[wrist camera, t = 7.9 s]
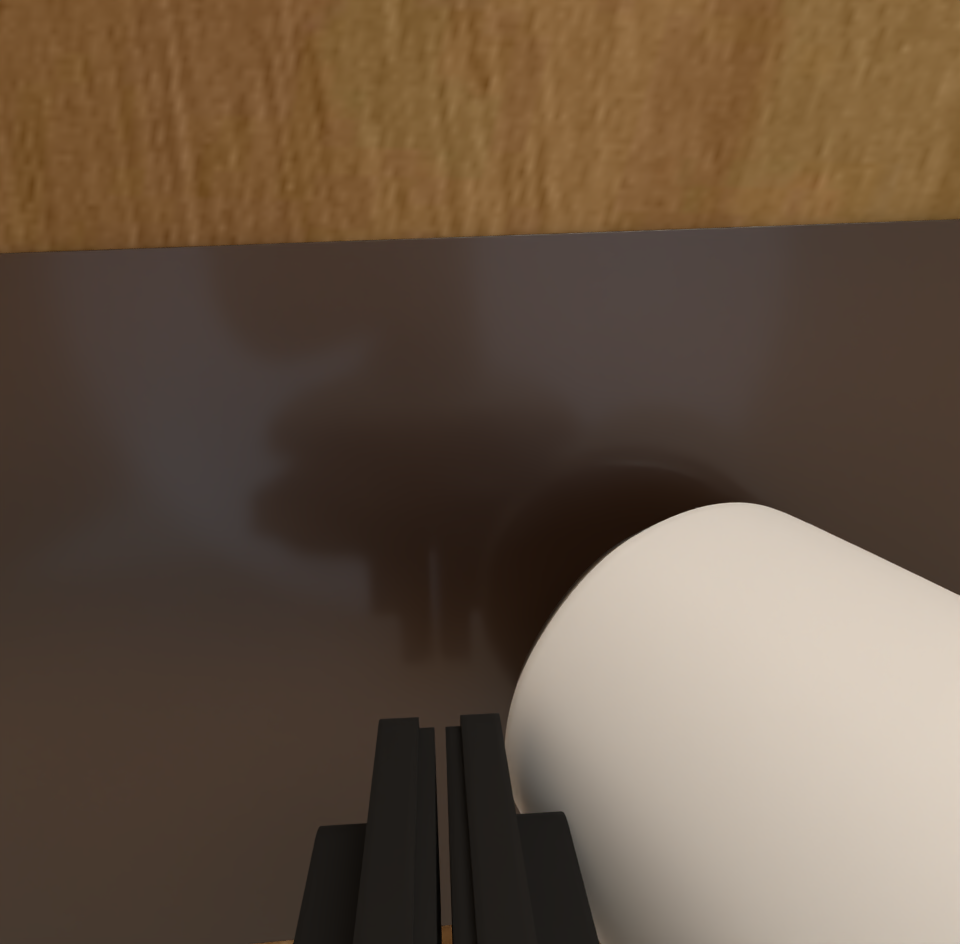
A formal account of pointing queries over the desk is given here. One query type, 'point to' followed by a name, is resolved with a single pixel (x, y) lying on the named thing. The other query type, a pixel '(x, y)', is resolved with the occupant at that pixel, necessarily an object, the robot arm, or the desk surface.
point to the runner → (392, 511)
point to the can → (749, 737)
